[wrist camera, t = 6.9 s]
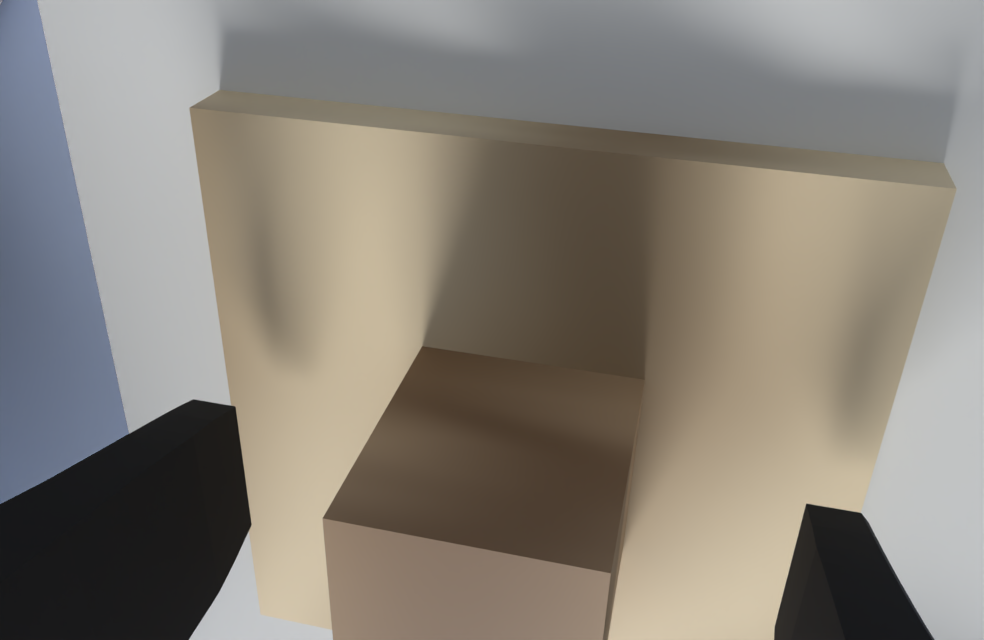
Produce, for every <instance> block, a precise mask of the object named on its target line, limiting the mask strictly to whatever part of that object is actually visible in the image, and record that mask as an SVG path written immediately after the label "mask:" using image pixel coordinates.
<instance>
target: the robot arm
mask: <svg viewBox="0 0 984 640" xmlns="http://www.w3.org/2000/svg"><path fill="white" fill-rule="evenodd" d="M251 525H252V523H251V516H250V508H249V501H248V494H247V487H246V479H245V472H244V465H243V457H242V450H241V443H240V436H239V428H238V421H237V414H236V407H235V406H230V405H224V404H219V403H213V402H207V401H201V400H195V399H193V400H191V401H189V402H187V403H184V404H182V405H180V406H178V407H176V408H175V409H173V410H171V411H169V412H167V413H165V414H163V415H162V416H160V417H158V418H156V419H154V420H153V421H151V422H149V423H147V424H146V425H144V426H142V427H140V428H138V429H137V430H135V431H133V432H131V433H130V434H128V435H126V436H124V437H123V438H121V439H119V440H117V441H116V442H114V443H112V444H110V445H109V446H107V447H105V448H103V449H102V450H100V451H98V452H96V453H95V454H93V455H91V456H89V457H87V458H86V459H84V460H82V461H80V462H78V463H77V464H75V465H73V466H71V467H70V468H68V469H66V470H64V471H62V472H61V473H59V474H57V475H55V476H54V477H52V478H50V479H48V480H46V481H44V482H43V483H41V484H39V485H37V486H35V487H33V488H31V489H29V490H27V491H25V492H23V493H21V494H19V495H17V496H15V497H14V498H12V499H10V500H8V501H6V502H4V503H2V504H0V640H189V639H190V637H191V636H192V634H193V632H194V631H195V629H196V628H197V626H198V625H199V623H200V622H201V620H202V619H203V617H204V616H205V614H206V612H207V611H208V609H209V608H210V606H211V605H212V603H213V601H214V600H215V598H216V597H217V595H218V594H219V592H220V590H221V588H222V586H223V584H224V582H225V580H226V578H227V576H228V574H229V572H230V570H231V568H232V566H233V564H234V562H235V560H236V558H237V556H238V554H239V551H240V549H241V547H242V545H243V543H244V541H245V538H246V536H247V534H248V532H249V530H250V528H251ZM774 640H934V638H933V636H932V635H931V633H930V632H929V630H928V628H927V627H926V625H925V623H924V622H923V620H922V618H921V617H920V615H919V613H918V612H917V610H916V608H915V607H914V605H913V603H912V601H911V600H910V598H909V596H908V594H907V593H906V591H905V589H904V587H903V586H902V584H901V582H900V580H899V579H898V577H897V575H896V573H895V571H894V569H893V568H892V566H891V564H890V562H889V560H888V558H887V557H886V555H885V553H884V551H883V549H882V547H881V545H880V543H879V541H878V540H877V538H876V536H875V534H874V532H873V530H872V528H871V526H870V524H869V522H868V521H867V520H866V518H865V517H864V516H863V514H862V513H859V512H853V511H848V510H842V509H836V508H830V507H824V506H818V505H812V504H806V506H805V510H804V514H803V518H802V522H801V526H800V530H799V534H798V538H797V541H796V545H795V549H794V553H793V557H792V561H791V565H790V569H789V573H788V576H787V580H786V584H785V588H784V592H783V596H782V600H781V604H780V608H779V612H778V615H777V619H776V623H775V629H774Z"/></svg>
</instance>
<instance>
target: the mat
mask: <svg viewBox="0 0 984 640" xmlns="http://www.w3.org/2000/svg"><path fill="white" fill-rule="evenodd" d="M37 1H38V6H39V11H40V16H41V20H42V25H43V30H44V35H45V39H46V44H47V49H48V53H49V58H50V63H51V68H52V72H53V77H54V82H55V86H56V91H57V96H58V101H59V105H60V110H61V115H62V120H63V124H64V129H65V134H66V138H67V143H68V148H69V153H70V157H71V162H72V167H73V171H74V176H75V181H76V186H77V190H78V195H79V200H80V205H81V209H82V214H83V219H84V223H85V228H86V233H87V238H88V242H89V247H90V252H91V256H92V261H93V266H94V271H95V275H96V280H97V285H98V290H99V294H100V299H101V304H102V308H103V313H104V318H105V323H106V327H107V332H108V337H109V341H110V346H111V351H112V356H113V360H114V365H115V370H116V375H117V379H118V384H119V389H120V393H121V398H122V403H123V408H124V412H125V417H126V422H127V426H128V431H129V434H130V433H131V432H133V431H135V430H137V429H138V428H140V427H142V426H144V425H146V424H147V423H149V422H151V421H153V420H154V419H156V418H158V417H160V416H162V415H163V414H165V413H167V412H169V411H171V410H173V409H175V408H176V407H178V406H180V405H182V404H184V403H187V402H189V401H191V400H193V399H195V400H201V401H207V402H213V403H219V404H224V405H230V406H231V401H230V394H229V387H228V380H227V373H226V366H225V358H224V351H223V344H222V337H221V330H220V323H219V316H218V309H217V302H216V295H215V287H214V280H213V273H212V266H211V259H210V252H209V245H208V238H207V231H206V224H205V216H204V209H203V202H202V195H201V188H200V181H199V174H198V167H197V160H196V153H195V145H194V138H193V131H192V124H191V117H190V110H189V108H190V107H191V106H193V105H195V104H196V103H198V102H200V101H202V100H203V99H205V98H207V97H208V96H210V95H212V94H214V93H215V92H217V91H219V90H226V91H236V92H246V93H255V94H265V95H275V96H285V97H295V98H305V99H315V100H325V101H334V102H344V103H354V104H364V105H374V106H384V107H394V108H404V109H413V110H423V111H433V112H443V113H453V114H463V115H473V116H483V117H493V118H502V119H512V120H522V121H532V122H542V123H552V124H562V125H572V126H581V127H591V128H601V129H611V130H621V131H631V132H641V133H651V134H660V135H670V136H680V137H690V138H700V139H710V140H720V141H730V142H739V143H749V144H759V145H769V146H779V147H789V148H799V149H809V150H819V151H828V152H838V153H848V154H858V155H868V156H878V157H888V158H898V159H907V160H917V161H927V162H937V163H944V165H945V167H946V169H947V171H948V173H949V175H950V177H951V178H952V180H953V182H954V184H955V186H956V188H957V190H956V193H955V197H954V200H953V204H952V207H951V210H950V214H949V217H948V220H947V224H946V227H945V231H944V234H943V237H942V241H941V244H940V247H939V251H938V254H937V258H936V261H935V264H934V268H933V271H932V274H931V278H930V281H929V284H928V288H927V291H926V295H925V298H924V301H923V305H922V308H921V311H920V315H919V318H918V322H917V325H916V328H915V332H914V335H913V338H912V342H911V345H910V349H909V352H908V355H907V359H906V362H905V365H904V369H903V372H902V376H901V379H900V382H899V386H898V389H897V392H896V396H895V399H894V403H893V406H892V409H891V413H890V416H889V419H888V423H887V426H886V430H885V433H884V436H883V440H882V443H881V446H880V450H879V453H878V456H877V460H876V463H875V467H874V470H873V473H872V477H871V480H870V483H869V487H868V490H867V494H866V497H865V500H864V504H863V507H862V510H861V513H862V514H863V516H864V517H865V518H866V520H867V521H868V522H869V524H870V526H871V528H872V530H873V532H874V534H875V536H876V538H877V540H878V541H879V543H880V545H881V547H882V549H883V551H884V553H885V555H886V557H887V558H888V560H889V562H890V564H891V566H892V568H893V569H894V571H895V573H896V575H897V577H898V579H899V580H900V582H901V584H902V586H903V587H904V589H905V591H906V593H907V594H908V596H909V598H910V600H911V601H912V603H913V605H914V607H915V608H916V610H917V612H918V613H919V615H920V617H921V618H922V620H923V622H924V623H925V625H926V627H927V628H928V630H929V632H930V633H931V635H932V636H933V638H934V640H984V0H37ZM189 640H333V634H332V630H330V629H325V628H321V627H316V626H311V625H307V624H302V623H297V622H293V621H288V620H283V619H279V618H274V617H269V616H265V615H261V614H260V607H259V600H258V593H257V586H256V579H255V572H254V564H253V557H252V550H251V543H250V536H249V532H248V534H247V536H246V538H245V541H244V543H243V545H242V547H241V549H240V551H239V554H238V556H237V558H236V560H235V562H234V564H233V566H232V568H231V570H230V572H229V574H228V576H227V578H226V580H225V582H224V584H223V586H222V588H221V590H220V592H219V594H218V595H217V597H216V598H215V600H214V601H213V603H212V605H211V606H210V608H209V609H208V611H207V612H206V614H205V616H204V617H203V619H202V620H201V622H200V623H199V625H198V626H197V628H196V629H195V631H194V632H193V634H192V636H191V637H190V639H189Z"/></svg>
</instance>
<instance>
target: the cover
mask: <svg viewBox="0 0 984 640" xmlns="http://www.w3.org/2000/svg"><path fill="white" fill-rule="evenodd" d="M189 110H190V117H191V124H192V131H193V138H194V145H195V153H196V160H197V167H198V174H199V181H200V188H201V195H202V202H203V209H204V216H205V224H206V231H207V238H208V245H209V252H210V259H211V266H212V273H213V280H214V287H215V295H216V302H217V309H218V316H219V323H220V330H221V337H222V344H223V351H224V358H225V366H226V373H227V380H228V387H229V394H230V401H231V406H235V407H236V414H237V421H238V428H239V436H240V443H241V450H242V457H243V465H244V472H245V479H246V487H247V494H248V501H249V508H250V516H251V523H252V525H251V528H250V530H249V536H250V543H251V550H252V557H253V564H254V572H255V579H256V586H257V593H258V600H259V607H260V614H261V615H265V616H269V617H274V618H279V619H283V620H288V621H293V622H297V623H302V624H307V625H311V626H316V627H321V628H325V629H330V630H332V634H333V640H774V629H775V623H776V619H777V615H778V612H779V608H780V604H781V600H782V596H783V592H784V588H785V584H786V580H787V576H788V573H789V569H790V565H791V561H792V557H793V553H794V549H795V545H796V541H797V538H798V534H799V530H800V526H801V522H802V518H803V514H804V510H805V506H806V504H812V505H818V506H824V507H830V508H836V509H842V510H848V511H853V512H859V513H861V510H862V507H863V504H864V500H865V497H866V494H867V490H868V487H869V483H870V480H871V477H872V473H873V470H874V467H875V463H876V460H877V456H878V453H879V450H880V446H881V443H882V440H883V436H884V433H885V430H886V426H887V423H888V419H889V416H890V413H891V409H892V406H893V403H894V399H895V396H896V392H897V389H898V386H899V382H900V379H901V376H902V372H903V369H904V365H905V362H906V359H907V355H908V352H909V349H910V345H911V342H912V338H913V335H914V332H915V328H916V325H917V322H918V318H919V315H920V311H921V308H922V305H923V301H924V298H925V295H926V291H927V288H928V284H929V281H930V278H931V274H932V271H933V268H934V264H935V261H936V258H937V254H938V251H939V247H940V244H941V241H942V237H943V234H944V231H945V227H946V224H947V220H948V217H949V214H950V210H951V207H952V204H953V200H954V197H955V193H956V190H957V188H956V186H955V184H954V182H953V180H952V178H951V177H950V175H949V173H948V171H947V169H946V167H945V165H944V163H937V162H927V161H917V160H907V159H898V158H888V157H878V156H868V155H858V154H848V153H838V152H828V151H819V150H809V149H799V148H789V147H779V146H769V145H759V144H749V143H739V142H730V141H720V140H710V139H700V138H690V137H680V136H670V135H660V134H651V133H641V132H631V131H621V130H611V129H601V128H591V127H581V126H572V125H562V124H552V123H542V122H532V121H522V120H512V119H502V118H493V117H483V116H473V115H463V114H453V113H443V112H433V111H423V110H413V109H404V108H394V107H384V106H374V105H364V104H354V103H344V102H334V101H325V100H315V99H305V98H295V97H285V96H275V95H265V94H255V93H246V92H236V91H226V90H219V91H217V92H215V93H214V94H212V95H210V96H208V97H207V98H205V99H203V100H202V101H200V102H198V103H196V104H195V105H193V106H191V107H190V108H189Z"/></svg>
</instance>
